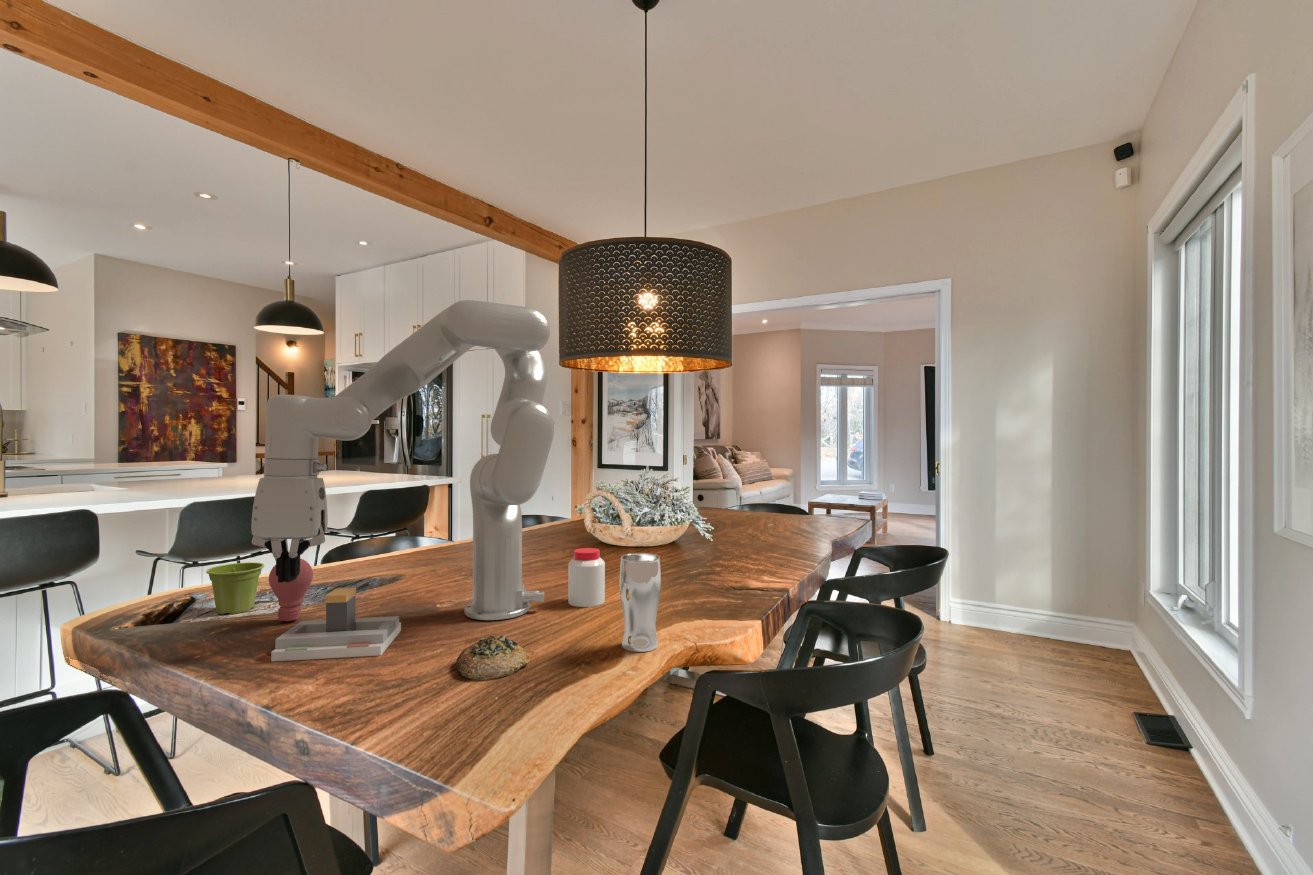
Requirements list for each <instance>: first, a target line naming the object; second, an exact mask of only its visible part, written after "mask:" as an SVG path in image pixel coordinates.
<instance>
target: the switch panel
mask: <svg viewBox="0 0 1313 875" xmlns="http://www.w3.org/2000/svg"><path fill="white" fill-rule="evenodd" d="M401 631H402V622H400V616H399V615H397V616H392V615H391V616H376V617H375V616H374V617H373V616H372V617H371V616H370V617H355V631H339V632H326V619H308V620H300V621H299V622H298V623H296V624H295V625H294V626H292V627H291V628H289V629H288V630H287V631H285V632H284V633H282V634H281V635H279V636H278V637H276V639H275V640H274V641H275V645H274V647H275V648H274V649H273V650H272V651H271V652H270V654H271V657H270V658H271V659H270V660H271V662H288V661H302V660H303V661H305V660H306V661H307V660H321V659H322V660H323V659H341V658H357V657H361V658H362V657H374V656H375V657H376V656H377V657H379V656H382V655H383V653H384V652H385V651H386V650H387V649H388V647H390V645H391V643H392V642H394V640H395V638H397V636H398V635H399V634H400V632H401Z"/></svg>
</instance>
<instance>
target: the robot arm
mask: <svg viewBox="0 0 1313 875" xmlns="http://www.w3.org/2000/svg"><path fill="white" fill-rule="evenodd" d="M550 335H551V328H550V324H549V321H548V320H547V318H546V317H545V316H544V314H542V312H540V311H538V310H537V309H534V308H532V307H528V306H521V305H512V304H505V303H497V302H489V301H482V300H472V299H465V300H458V301H456V302H454V303H452V304H451V305H450V306H447V307H446V308H445V309H443V310H442V311H441V312H439V313H438V314H436V315H435V316H434V317H433V318H431V319H430V320H428V321H427V322H426V323H425V324H424V325H421V327H420V328H418V329H417V330H416V331H414V332H413V333H411V334H410V335H409V336H408V337H406V338H405V339H404V340H402V341H401V342H399V344H398V345H396V346H395V347H393V348H392V349H391V350H390V351H388V352H387V353H386V354H385V355H384V356H382V357H381V358H380V359H379V360H378V361H377V362H376V363H375V364H374V365H373V366H372V367H370V369H368V370H367V371H366V372H365V373H363V374H362V375H361V376H359V377H358V378H357V379H356V380H354V381H352V383H350V384H349V385H348V386H346V387H345V388H344V389H343V390H342V391H340V392H338V393H337V394H336V395H334V396H332V397H312V396H307V395H297V394H275V395H271V396H270V397H269V398H268V400H267V401H266V413H265V438H264V439H265V442H264V462H263V463H264V464H263V468H264V469H263V477H260V478H259V479H258V483H257V486H256V490H255V493H254V494H255V495H254V499H253V505H252V513H251V525H250V526H251V528H250V529H251V535H252V539H251V544H252V545H253V546H258V547H263V548H266V549H267V550H268V551H269V552H270V553H271V554H272V557H273V558H275V560H276V562H275V565H276V576H278V582H279V583H282V582H291V581H293V580H295V579H296V578H297V576H298V575H299V573H300V559H301V555H303V554H304V552H306V551H307V550H308V549H310V548H311V547H316V546H320V545H322V544H324V543H325V542H326V537H325V533H326V532H327V530H328V522H329V521H328V519H329V518H328V517H329V516H328V503H327V502H328V501H327V495H326V494H327V492H326V487H325V480H324V478H323V477H318V475H320V473H321V472H326V471H327V470H328V469H327V467H328V466H327V463H325V462H324V463H322V462H320V459H319V445H320V444H319V439H320V438H323V439H333V440H337V441H344V442H345V441H355V440H357V439H360V438H361V437H363V436H364V435H366V434H367V432H369V430H370V428H371V426H372V423H373V421H374V420H375V419H376V418H377V417H378V416H380V415H381V414H382V413H384V412H385V411H386V410H387V409H389V408H391V407H392V406H393V405H394V404H396V403H398V401H401V400H403V399H404V398H406V397H409V396H410V395H412V394H414V393H416V392H418V391H419V390H421V389H423V387H425V386H427V385H428V384H429V383H431V382H432V381H433V380H434V379H435V378H437V377H438V376H439V375H440V374H441V373H442V372H443V371H445V370H446V369H447V368H448V367H450V366H451V365H452V364H453V363H454V362H456V361H457V360H458V359H459V358H460V357H462V356H463V355H464V354H466V352H468V351H469V350H471V349H473V348H474V347H481V348H482V347H483V348H490V349H493V350H495V352H496V353H497V355H498V356H499V357H500V359H501V360H502V364H503V367H504V379H503V383H502V386H501V387H502V388H501V390H500V395H499V398H498V400H497V404H496V408H495V411H494V413H493V416H492V419H491V423H490V434H491V438H492V439H493V441H494V442H495V443H496V444H497V445H498V446H499V449H498V453H492V454H491V453H490V454H487V455H485V456H483V457H481V458H480V459H479V460H478V461H477V462H476V463H475V464H474V466H473V468H472V469H471V473H470V477H469V488H470V497H471V508H472V602H469V603H468V604H466V605H465V606H464V609H463V610H464V615H465V616H466V617H468V618H470V619H472V620H473V619H474V620H477V621H478V620H480V621H499V620H508V619H512V618H513V619H514V618H517V617H519V616H522V615H524V614H526V613H527V612H529V610H530V607H531V606H530V603H531V602H532V603H533V602H535V603H540V602H541V603H544V602H545V591H539V590H538V589H537V590H527V589H525V583H523V578H522V577H523V573H522V572H523V569H522V568H523V518H522V517H523V516H522V515H523V514H522V509H521V508H522V507H521V505H523V504H525V503H526V502H528V501H530V500H531V499H532V498H533V497H534V495H535V494H536V492H537V491H538V489H539V487H540V483H541V480H542V478H543V475H544V471H545V468H546V464H547V461H548V457H549V454H550V451H551V447H552V443H553V440H554V434H555V423H554V419H553V417H552V414H551V412H550V411H549V409H548V408H547V407H545V406H544V405H543V402H544V396H545V392H546V388H547V383H548V382H547V381H548V376H547V374H548V373H547V368H546V363H545V362H544V358H543V357H542V354H541V352H540V350H541V349H543V348H544V346H546V344H547V343H548V341H549V340H550ZM288 540H291V541H290V544H288Z"/></svg>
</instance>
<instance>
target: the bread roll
mask: <svg viewBox="0 0 1313 875" xmlns="http://www.w3.org/2000/svg"><path fill="white" fill-rule="evenodd" d="M530 660H531V657H530V655H529V654H528V653H527V652H526V651H525V648H523V647H522V646H521V645H520V644H519V643H517V642H516V641H515V640H513V639H511V638H510V639H508V638H507V637H506V636H505V635H500V636H499V637H495V635H493V634H492V635H490V636H489V637H486V638H483V637H482V638H480V639H479V640H478V641H476V642H475V643H473V644H472V645H470V646H468V647H466V648H464V649H463V650H462V652H461V653H459V654H458V657H457V658H456V661H455V662H456V664H455V665H456V669H457V672H458V673H460V674H461V676H462V677H463V678H465V679H469V680H471V681H474V680H475V681H487V680H493V679H499V678H504V677H506V676H507V677H508V676H510V675H513V674H515V673H516V672H518V671H519V670H520V669H521V668H523V667H525V666H526V665H527V664H528V663H529V662H530Z"/></svg>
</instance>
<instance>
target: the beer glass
mask: <svg viewBox="0 0 1313 875" xmlns="http://www.w3.org/2000/svg"><path fill="white" fill-rule="evenodd" d="M660 562H661V559H660V555H658V554H654V553H648V552H647V553H646V552H634V553H627V554H626V553H625V554H623V555H621V556H620V564H619V565H620V568H619V595H620V603H621V607H622V608H621V609H622V613H623V621H624V622H623V623H624V624H623V625H624V629H623V630H624V631H623V637H622V642H621V647H622V648H623V650H626V651H627V652H632V653H645V652H646V653H648V652H651V651H654V650H656V649H657V648H658V647H659V643H658V635H657V630H656V624H657V623H656V622H657V615H658V609H659V602H660V597H661V588H662V586H661V585H662V584H661V583H662V580H661V578H662V577H661V574H662V573H661V563H660Z"/></svg>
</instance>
